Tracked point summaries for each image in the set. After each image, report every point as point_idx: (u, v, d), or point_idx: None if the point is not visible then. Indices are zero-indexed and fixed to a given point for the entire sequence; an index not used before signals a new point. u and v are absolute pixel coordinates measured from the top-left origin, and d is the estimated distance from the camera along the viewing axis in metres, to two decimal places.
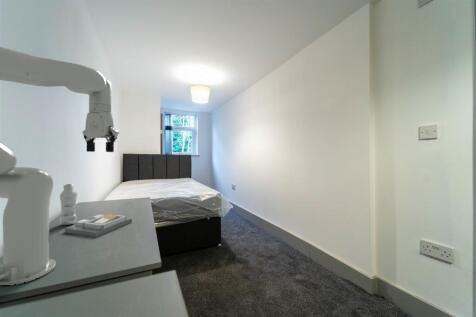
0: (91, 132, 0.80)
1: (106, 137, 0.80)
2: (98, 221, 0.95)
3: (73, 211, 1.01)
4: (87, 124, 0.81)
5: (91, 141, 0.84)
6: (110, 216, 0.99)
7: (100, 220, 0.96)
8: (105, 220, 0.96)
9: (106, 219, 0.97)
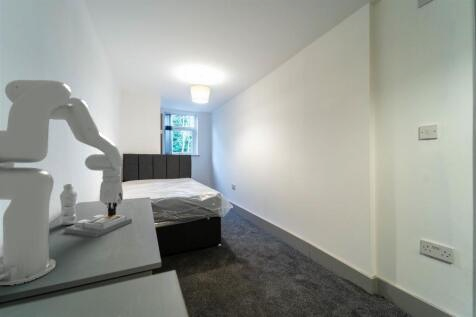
0: (104, 199, 0.98)
1: (112, 204, 0.99)
2: (98, 221, 0.95)
3: (73, 211, 1.01)
4: (101, 192, 0.99)
5: None
6: (110, 216, 0.99)
7: (100, 220, 0.96)
8: (105, 220, 0.96)
9: (106, 219, 0.97)
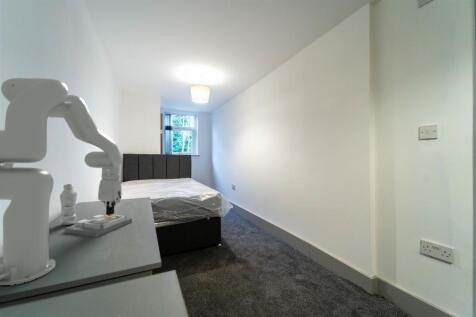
0: (103, 197, 0.98)
1: (110, 202, 0.98)
2: (98, 219, 0.95)
3: (73, 211, 1.01)
4: (100, 190, 0.98)
5: None
6: (110, 217, 1.00)
7: (100, 219, 0.96)
8: (105, 219, 0.96)
9: (106, 219, 0.97)
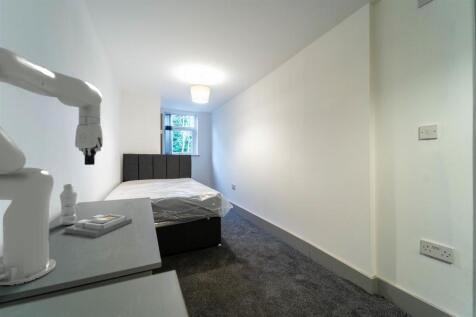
0: (81, 143, 0.84)
1: (89, 150, 0.85)
2: (98, 219, 0.95)
3: (73, 211, 1.01)
4: (77, 136, 0.85)
5: None
6: (111, 217, 1.00)
7: (100, 218, 0.96)
8: (105, 219, 0.96)
9: (106, 218, 0.97)
